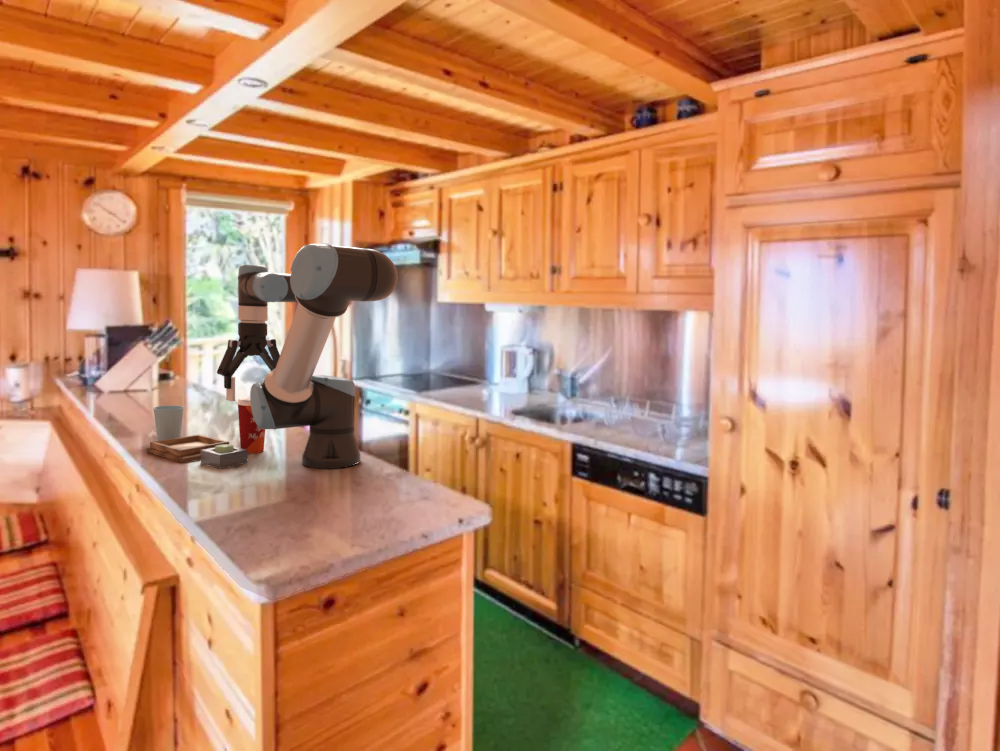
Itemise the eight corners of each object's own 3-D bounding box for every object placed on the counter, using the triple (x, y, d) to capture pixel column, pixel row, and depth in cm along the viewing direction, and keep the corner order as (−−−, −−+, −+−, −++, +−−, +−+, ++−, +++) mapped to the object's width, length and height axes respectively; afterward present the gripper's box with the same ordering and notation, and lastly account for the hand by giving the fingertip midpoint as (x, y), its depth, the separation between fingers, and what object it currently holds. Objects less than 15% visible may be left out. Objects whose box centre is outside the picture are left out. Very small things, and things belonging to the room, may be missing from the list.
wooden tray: (235, 452, 176) (235, 442, 175) (183, 462, 163) (183, 451, 163) (198, 443, 184) (198, 433, 184) (146, 452, 172) (146, 441, 171)
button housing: (247, 462, 166) (247, 449, 165) (219, 468, 159) (219, 455, 159) (228, 457, 170) (228, 444, 170) (200, 463, 163) (200, 450, 163)
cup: (150, 446, 178) (149, 409, 177) (158, 440, 186) (157, 405, 185) (179, 446, 180) (179, 409, 179) (186, 440, 188) (186, 405, 187)
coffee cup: (257, 455, 174) (257, 401, 172) (230, 452, 175) (230, 399, 174) (273, 449, 182) (274, 397, 180) (248, 446, 183) (248, 395, 182)
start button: (237, 461, 165) (237, 446, 165) (221, 464, 161) (221, 449, 161) (226, 458, 167) (226, 443, 167) (211, 461, 164) (211, 446, 163)
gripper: (281, 320, 187) (280, 392, 190) (202, 320, 166) (202, 401, 169) (298, 322, 183) (297, 395, 186) (220, 322, 162) (220, 404, 165)
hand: (252, 398), depth 177 cm, fingers open, 13 cm apart
